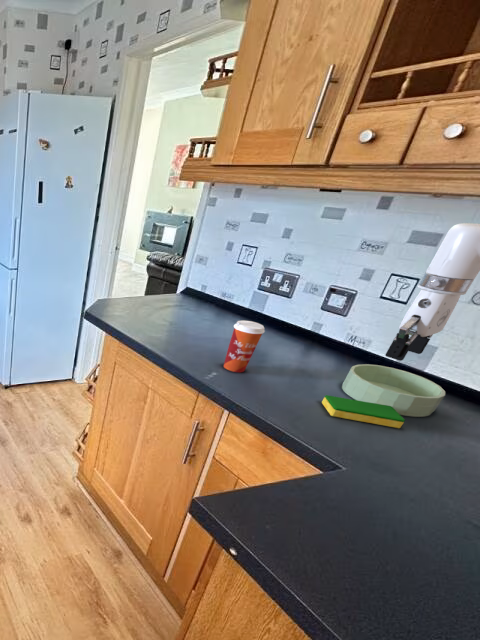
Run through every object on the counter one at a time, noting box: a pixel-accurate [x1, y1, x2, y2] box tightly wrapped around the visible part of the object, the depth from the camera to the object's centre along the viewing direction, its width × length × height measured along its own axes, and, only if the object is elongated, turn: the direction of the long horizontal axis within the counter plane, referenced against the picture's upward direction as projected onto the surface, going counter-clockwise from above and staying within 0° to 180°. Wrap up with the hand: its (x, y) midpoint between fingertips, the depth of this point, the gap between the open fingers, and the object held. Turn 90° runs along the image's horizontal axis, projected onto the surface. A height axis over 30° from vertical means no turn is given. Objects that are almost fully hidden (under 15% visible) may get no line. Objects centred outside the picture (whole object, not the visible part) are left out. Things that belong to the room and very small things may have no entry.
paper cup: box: [223, 320, 266, 373], centre depth 121 cm, size 8×8×14 cm
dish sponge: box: [321, 394, 406, 429], centre depth 102 cm, size 7×14×2 cm, turn 69°
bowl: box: [341, 363, 446, 418], centre depth 109 cm, size 18×18×6 cm
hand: (403, 354), depth 99 cm, fingers open, 8 cm apart
